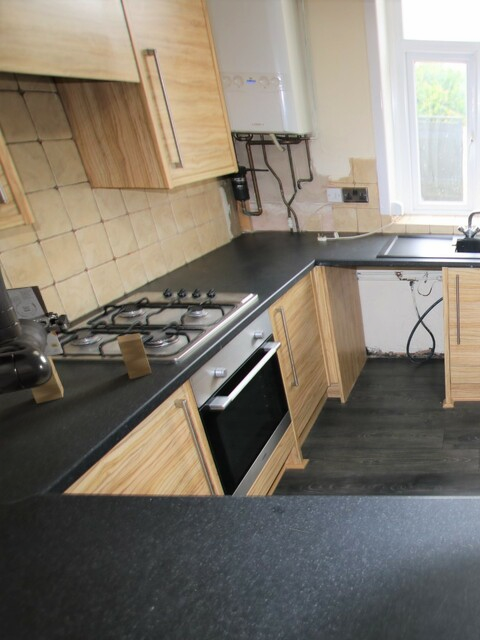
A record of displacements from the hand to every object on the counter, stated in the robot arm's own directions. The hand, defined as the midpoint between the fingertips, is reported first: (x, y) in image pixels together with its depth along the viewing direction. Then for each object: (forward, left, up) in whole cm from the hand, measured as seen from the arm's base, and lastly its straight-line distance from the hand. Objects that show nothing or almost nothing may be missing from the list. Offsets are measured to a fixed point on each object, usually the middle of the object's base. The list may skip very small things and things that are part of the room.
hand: (27, 319), depth 106 cm
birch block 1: (-3, +12, -24) cm, 27 cm away
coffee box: (-1, -1, -9) cm, 9 cm away
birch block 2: (+16, +12, -24) cm, 31 cm away
